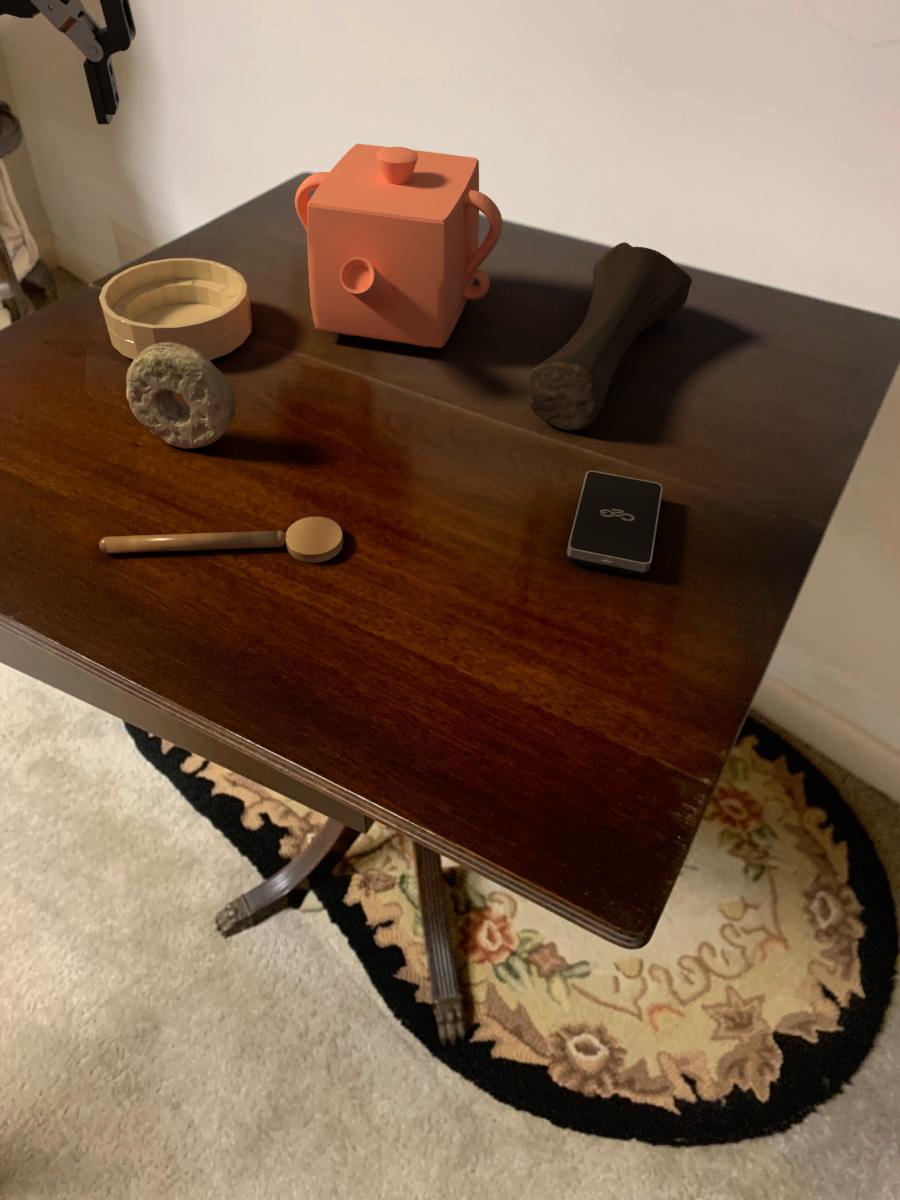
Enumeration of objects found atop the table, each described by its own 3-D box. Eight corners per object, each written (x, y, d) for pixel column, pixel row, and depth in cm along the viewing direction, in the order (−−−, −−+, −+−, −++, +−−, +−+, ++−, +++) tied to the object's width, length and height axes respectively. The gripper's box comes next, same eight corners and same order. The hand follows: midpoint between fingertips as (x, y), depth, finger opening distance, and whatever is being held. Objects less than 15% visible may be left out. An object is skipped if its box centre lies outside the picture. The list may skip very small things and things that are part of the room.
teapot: (464, 406, 90) (474, 234, 77) (255, 373, 93) (230, 201, 80) (507, 291, 107) (521, 134, 94) (329, 266, 110) (318, 110, 97)
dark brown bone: (622, 317, 108) (538, 465, 92) (591, 237, 102) (496, 382, 86) (709, 298, 101) (633, 454, 86) (681, 212, 95) (595, 363, 80)
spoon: (96, 571, 72) (91, 559, 71) (106, 532, 76) (102, 519, 75) (343, 562, 74) (342, 549, 73) (343, 523, 77) (342, 511, 76)
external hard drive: (658, 500, 81) (663, 483, 79) (645, 583, 73) (650, 566, 72) (583, 486, 82) (586, 469, 80) (563, 566, 75) (566, 549, 73)
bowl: (100, 372, 92) (87, 328, 89) (123, 300, 103) (113, 258, 99) (247, 369, 94) (241, 326, 90) (256, 298, 104) (250, 257, 100)
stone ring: (132, 440, 84) (106, 347, 77) (152, 420, 87) (128, 327, 79) (229, 463, 83) (212, 369, 75) (246, 441, 85) (231, 348, 78)
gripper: (-223, -205, 44) (-90, 141, 56) (72, -195, 45) (141, 141, 57) (-165, -219, 49) (-54, 100, 61) (98, -210, 50) (157, 102, 62)
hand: (40, 120), depth 59 cm, fingers open, 8 cm apart
